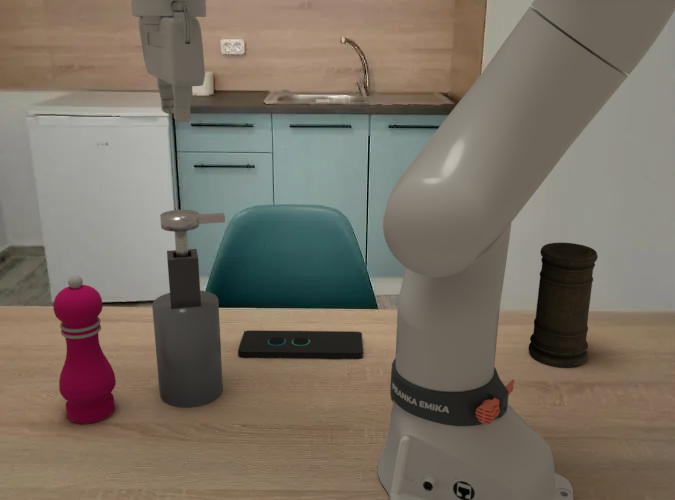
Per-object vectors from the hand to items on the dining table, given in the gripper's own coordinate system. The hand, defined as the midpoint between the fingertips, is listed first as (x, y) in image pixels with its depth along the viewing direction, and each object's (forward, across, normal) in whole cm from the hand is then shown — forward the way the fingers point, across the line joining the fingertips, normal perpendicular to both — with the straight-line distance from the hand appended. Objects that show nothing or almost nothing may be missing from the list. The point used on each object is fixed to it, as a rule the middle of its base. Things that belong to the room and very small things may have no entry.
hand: (175, 116), depth 88 cm
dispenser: (+40, 0, 0) cm, 40 cm away
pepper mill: (+40, 0, +14) cm, 42 cm away
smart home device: (+40, +7, -20) cm, 45 cm away
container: (+39, -12, -57) cm, 70 cm away
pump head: (+21, 0, -1) cm, 22 cm away
